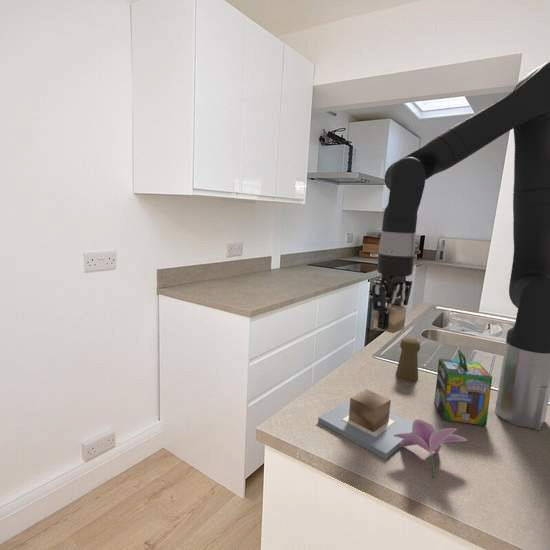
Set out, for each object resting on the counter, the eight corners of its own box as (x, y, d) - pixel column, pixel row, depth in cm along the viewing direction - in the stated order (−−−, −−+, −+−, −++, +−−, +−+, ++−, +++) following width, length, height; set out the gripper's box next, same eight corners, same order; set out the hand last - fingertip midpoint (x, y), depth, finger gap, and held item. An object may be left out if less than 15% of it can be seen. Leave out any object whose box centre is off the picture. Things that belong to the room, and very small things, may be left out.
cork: (395, 379, 101) (399, 341, 100) (395, 370, 107) (399, 334, 105) (419, 383, 100) (423, 344, 98) (417, 374, 105) (421, 337, 104)
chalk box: (486, 427, 80) (496, 363, 77) (441, 421, 82) (450, 358, 79) (473, 405, 89) (481, 347, 86) (432, 400, 91) (440, 343, 88)
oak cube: (404, 328, 84) (406, 307, 83) (393, 333, 81) (395, 311, 80) (384, 323, 88) (386, 303, 87) (373, 327, 84) (375, 306, 83)
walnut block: (388, 421, 78) (390, 399, 77) (373, 432, 74) (375, 409, 73) (364, 409, 82) (366, 389, 81) (348, 419, 78) (350, 397, 77)
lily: (475, 475, 66) (465, 418, 70) (465, 486, 57) (455, 419, 60) (407, 469, 73) (401, 417, 76) (388, 478, 63) (383, 418, 67)
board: (419, 430, 78) (419, 424, 77) (385, 459, 68) (386, 452, 68) (354, 400, 89) (355, 395, 89) (318, 422, 79) (318, 416, 79)
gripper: (395, 256, 74) (387, 337, 77) (427, 253, 84) (418, 324, 86) (363, 252, 79) (357, 328, 82) (396, 249, 89) (389, 317, 92)
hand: (388, 326), depth 84 cm, fingers closed on oak cube, 5 cm apart
